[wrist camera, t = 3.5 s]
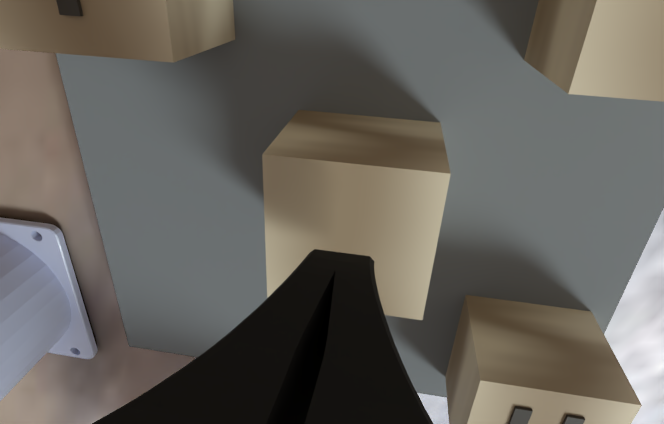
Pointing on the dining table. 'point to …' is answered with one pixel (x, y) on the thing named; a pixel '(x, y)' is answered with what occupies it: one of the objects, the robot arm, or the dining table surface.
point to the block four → (534, 367)
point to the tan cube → (117, 27)
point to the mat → (367, 100)
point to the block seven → (600, 47)
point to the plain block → (357, 199)
